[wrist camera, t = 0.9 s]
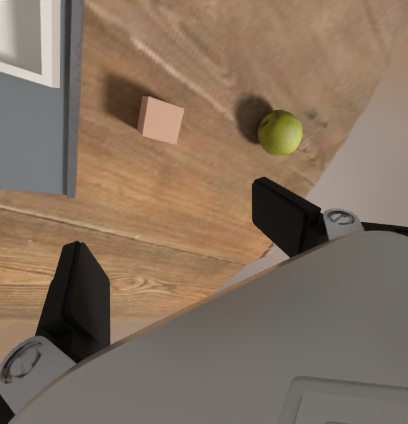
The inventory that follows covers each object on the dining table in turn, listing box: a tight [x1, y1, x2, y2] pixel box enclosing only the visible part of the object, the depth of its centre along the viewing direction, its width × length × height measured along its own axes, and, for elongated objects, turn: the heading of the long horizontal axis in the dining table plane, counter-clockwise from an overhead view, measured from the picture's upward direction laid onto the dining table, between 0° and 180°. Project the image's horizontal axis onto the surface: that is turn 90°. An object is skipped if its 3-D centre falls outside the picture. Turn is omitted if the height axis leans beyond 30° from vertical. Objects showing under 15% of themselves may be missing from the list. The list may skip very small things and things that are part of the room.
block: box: [137, 96, 184, 144], centre depth 30 cm, size 5×5×6 cm
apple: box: [258, 110, 302, 156], centre depth 39 cm, size 8×9×8 cm
